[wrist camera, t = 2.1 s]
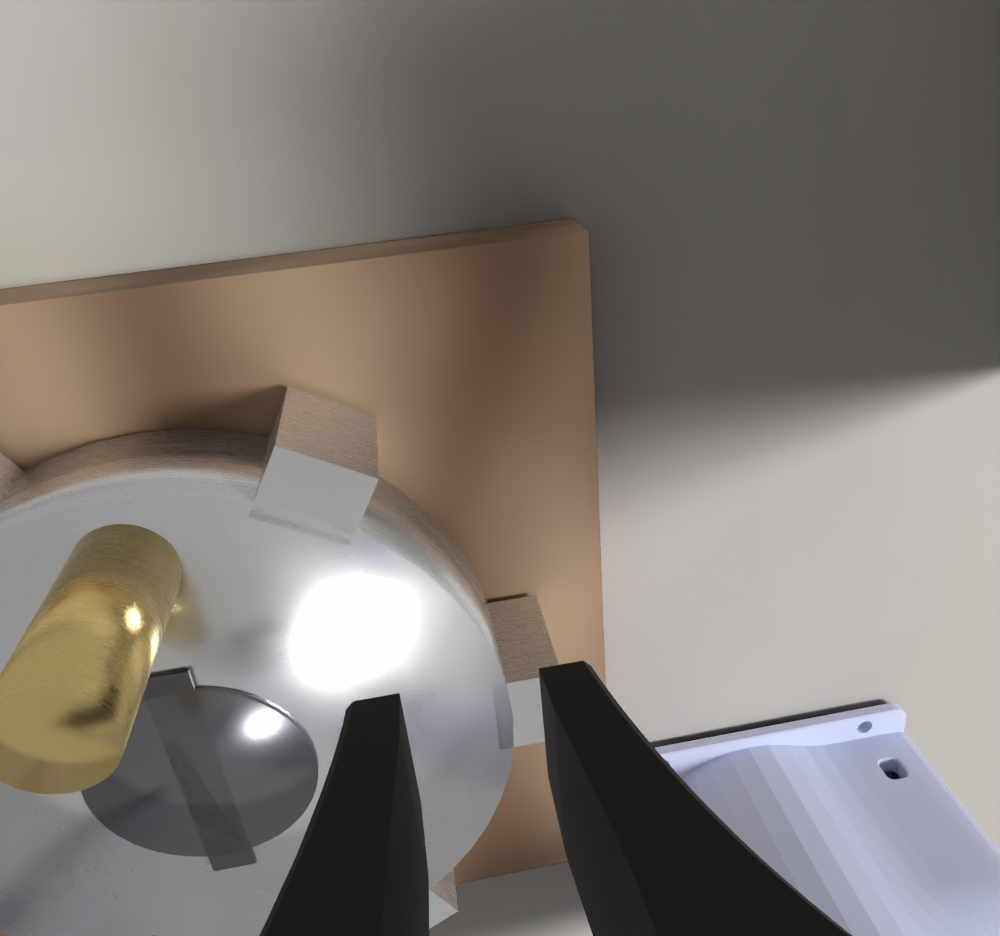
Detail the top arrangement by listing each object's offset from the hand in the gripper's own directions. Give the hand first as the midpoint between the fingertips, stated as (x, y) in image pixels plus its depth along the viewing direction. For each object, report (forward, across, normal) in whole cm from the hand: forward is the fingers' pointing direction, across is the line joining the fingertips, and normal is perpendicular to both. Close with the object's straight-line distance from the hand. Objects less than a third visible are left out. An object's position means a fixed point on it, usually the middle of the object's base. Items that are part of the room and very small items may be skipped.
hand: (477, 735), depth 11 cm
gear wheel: (+9, +6, +5) cm, 12 cm away
